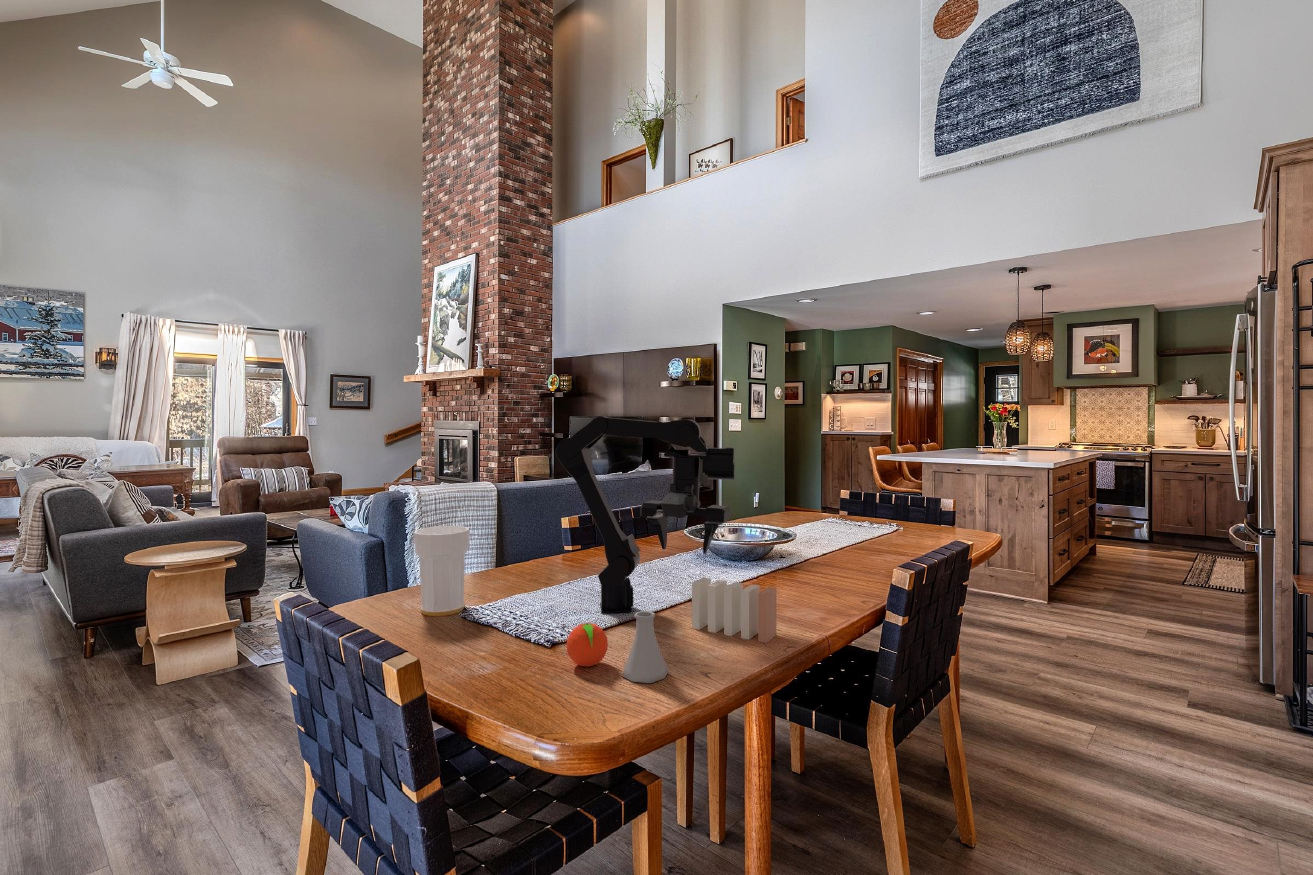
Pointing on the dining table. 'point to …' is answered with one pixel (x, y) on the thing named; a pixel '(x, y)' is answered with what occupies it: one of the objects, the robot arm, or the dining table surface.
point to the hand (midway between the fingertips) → (684, 551)
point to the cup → (442, 568)
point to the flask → (645, 653)
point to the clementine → (587, 644)
